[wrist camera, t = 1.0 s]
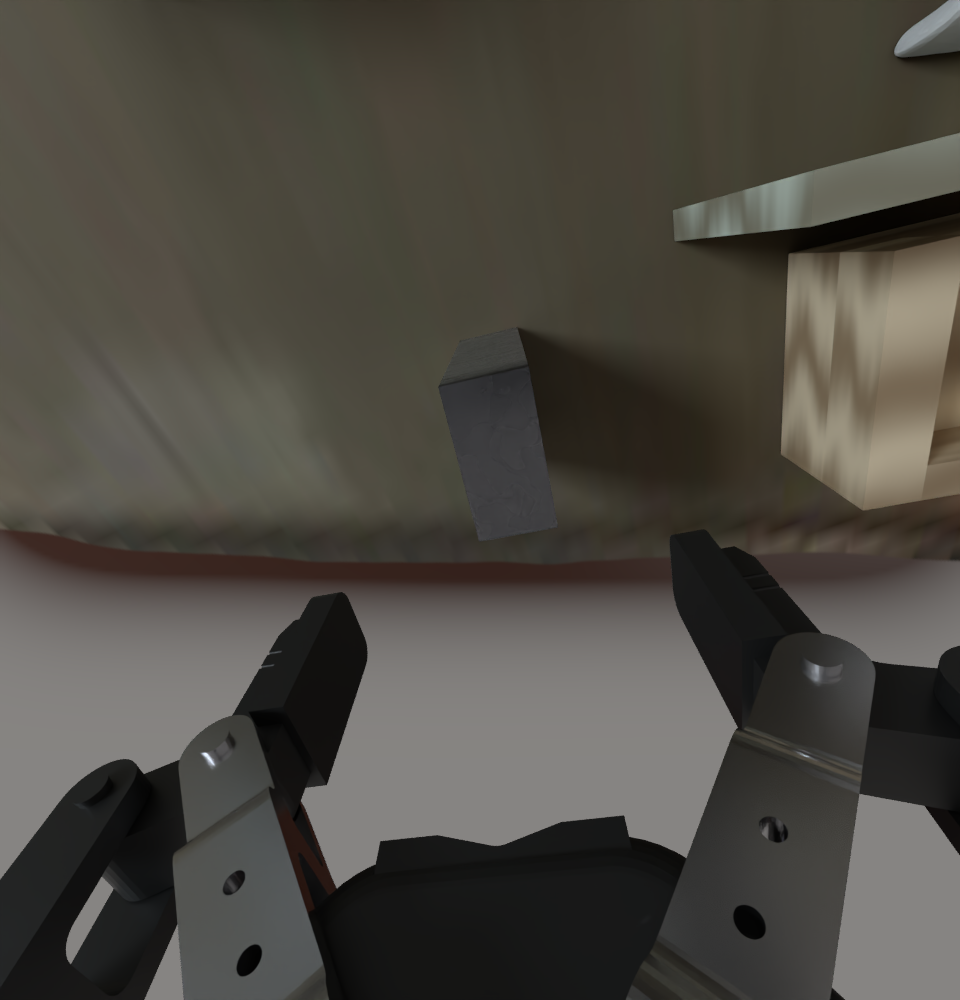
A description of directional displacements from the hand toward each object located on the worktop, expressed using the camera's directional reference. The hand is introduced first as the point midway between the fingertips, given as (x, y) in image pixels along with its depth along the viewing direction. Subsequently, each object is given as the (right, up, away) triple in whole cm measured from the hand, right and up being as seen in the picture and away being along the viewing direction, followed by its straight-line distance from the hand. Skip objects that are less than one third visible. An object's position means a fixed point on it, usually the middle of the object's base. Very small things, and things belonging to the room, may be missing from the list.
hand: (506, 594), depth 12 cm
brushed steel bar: (+1, +9, +19) cm, 21 cm away
